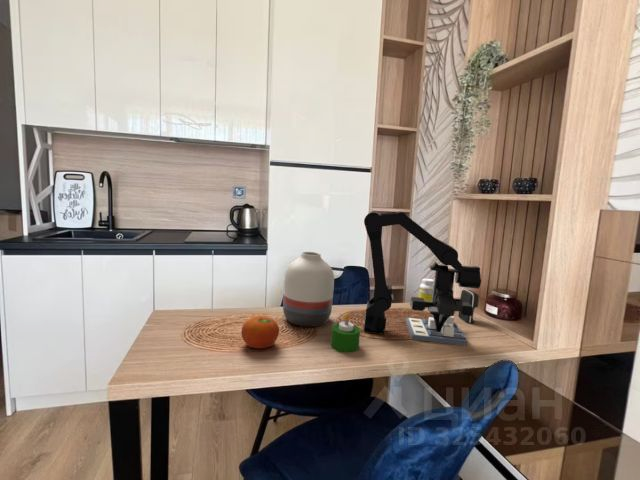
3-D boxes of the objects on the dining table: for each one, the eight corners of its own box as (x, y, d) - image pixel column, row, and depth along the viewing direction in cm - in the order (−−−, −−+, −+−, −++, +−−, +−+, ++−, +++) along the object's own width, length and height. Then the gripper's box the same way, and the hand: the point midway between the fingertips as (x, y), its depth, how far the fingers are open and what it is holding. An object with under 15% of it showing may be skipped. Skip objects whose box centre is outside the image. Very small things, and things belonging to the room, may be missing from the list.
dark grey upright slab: (477, 323, 131) (481, 294, 130) (467, 323, 131) (471, 293, 129) (466, 316, 138) (470, 288, 137) (457, 316, 138) (461, 288, 136)
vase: (313, 334, 111) (318, 260, 108) (271, 320, 120) (275, 252, 117) (339, 319, 126) (345, 254, 122) (300, 308, 134) (304, 247, 131)
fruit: (236, 340, 103) (237, 314, 102) (269, 335, 109) (270, 310, 107) (248, 356, 94) (249, 328, 93) (284, 350, 99) (285, 323, 98)
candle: (326, 341, 107) (328, 310, 105) (350, 338, 110) (352, 308, 109) (338, 354, 99) (340, 320, 98) (363, 350, 103) (366, 317, 101)
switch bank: (411, 339, 113) (412, 333, 113) (405, 321, 129) (406, 316, 128) (466, 345, 111) (467, 339, 111) (453, 326, 127) (454, 321, 127)
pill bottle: (424, 302, 154) (427, 277, 152) (436, 306, 149) (439, 280, 147) (414, 303, 151) (417, 278, 149) (426, 308, 145) (429, 282, 144)
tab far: (444, 325, 123) (445, 316, 122) (442, 321, 126) (443, 313, 125) (453, 326, 122) (454, 317, 122) (451, 322, 125) (452, 314, 125)
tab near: (443, 335, 113) (444, 326, 113) (441, 332, 116) (442, 322, 116) (453, 336, 113) (454, 327, 112) (450, 333, 116) (452, 323, 115)
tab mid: (429, 328, 118) (430, 319, 118) (427, 325, 121) (428, 316, 121) (438, 329, 118) (439, 320, 118) (436, 326, 121) (437, 317, 121)
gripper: (417, 288, 105) (412, 338, 108) (482, 295, 103) (475, 345, 106) (412, 279, 116) (407, 325, 119) (471, 285, 114) (465, 331, 117)
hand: (437, 331), depth 115 cm, fingers closed
